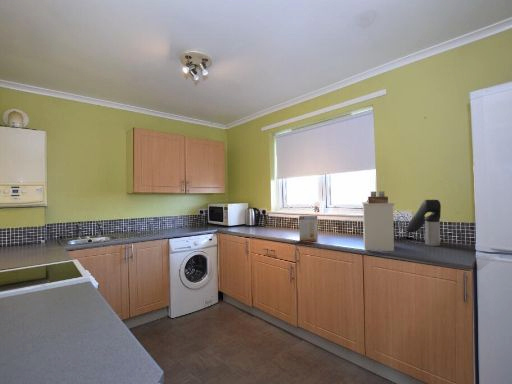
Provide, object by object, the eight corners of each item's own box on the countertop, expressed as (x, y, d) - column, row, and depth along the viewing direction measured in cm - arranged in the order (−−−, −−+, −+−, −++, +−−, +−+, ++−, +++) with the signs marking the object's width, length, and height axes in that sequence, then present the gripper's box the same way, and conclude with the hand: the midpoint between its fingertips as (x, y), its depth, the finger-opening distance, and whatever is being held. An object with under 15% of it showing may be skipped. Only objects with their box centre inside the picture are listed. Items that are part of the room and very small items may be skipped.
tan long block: (366, 201, 221) (366, 191, 221) (382, 201, 217) (382, 191, 217) (368, 203, 189) (368, 191, 189) (388, 203, 185) (387, 191, 185)
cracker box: (318, 240, 227) (317, 215, 227) (315, 241, 222) (315, 216, 222) (302, 239, 235) (301, 214, 235) (299, 240, 230) (299, 215, 230)
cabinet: (362, 243, 212) (362, 202, 212) (390, 244, 206) (389, 201, 206) (364, 249, 189) (363, 203, 189) (394, 251, 183) (394, 203, 183)
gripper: (383, 212, 223) (385, 202, 209) (364, 212, 228) (365, 202, 214) (382, 204, 227) (384, 194, 213) (364, 204, 231) (365, 194, 217)
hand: (375, 198), depth 213 cm, fingers closed on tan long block, 4 cm apart
